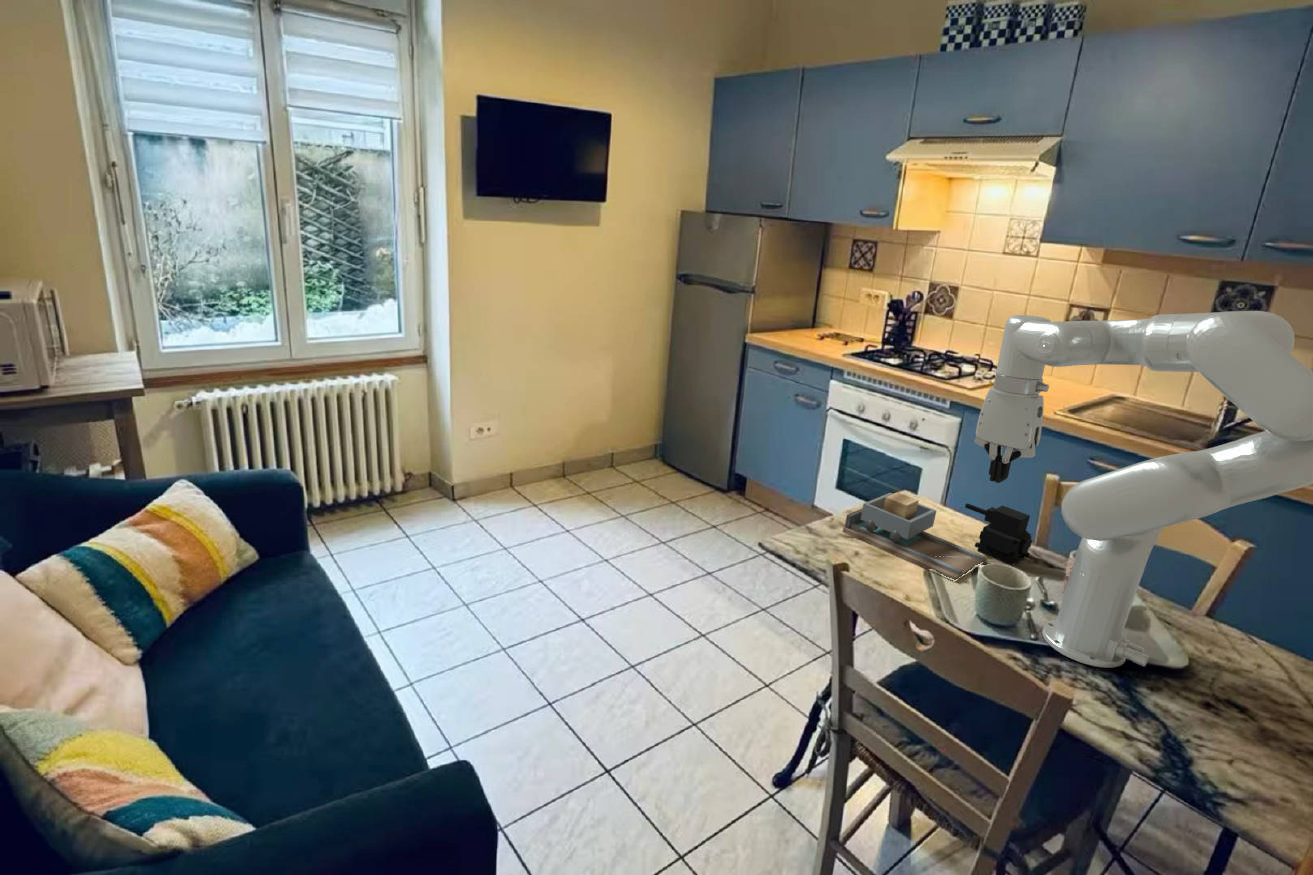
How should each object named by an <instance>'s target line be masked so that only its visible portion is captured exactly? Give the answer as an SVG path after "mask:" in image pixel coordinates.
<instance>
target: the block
mask: <svg viewBox="0 0 1313 875" xmlns="http://www.w3.org/2000/svg"><path fill="white" fill-rule="evenodd" d="M918 503H919V499H916V498H914V497H911V496H909V495H906V494H903V493H902V492H898V491H897V492H896V493H893V494H892V495H890V496H888V497H886V499H885V504H884V509H883V510H885V511H887V512H890V513H892V514H895V515H897V516H900V517H902V518H904V519H907V520H911V519H913V518H915V515H916V511H917V506H918Z"/></svg>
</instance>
